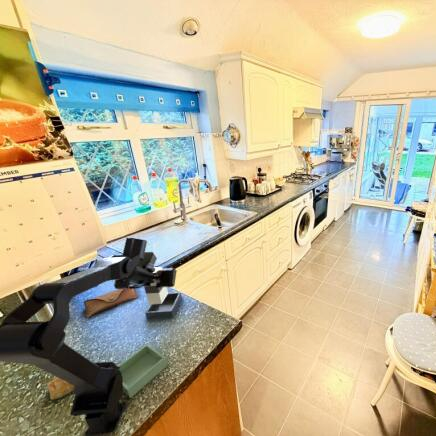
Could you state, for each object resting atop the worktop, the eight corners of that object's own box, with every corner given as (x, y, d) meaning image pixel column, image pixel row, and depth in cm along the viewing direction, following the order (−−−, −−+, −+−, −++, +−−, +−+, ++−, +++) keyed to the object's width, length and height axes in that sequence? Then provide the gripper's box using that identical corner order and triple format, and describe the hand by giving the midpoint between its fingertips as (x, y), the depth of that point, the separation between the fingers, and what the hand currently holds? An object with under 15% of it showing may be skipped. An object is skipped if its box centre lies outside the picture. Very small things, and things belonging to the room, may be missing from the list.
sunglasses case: (86, 318, 90) (81, 302, 91) (88, 317, 96) (82, 301, 96) (139, 297, 102) (135, 282, 102) (138, 297, 107) (133, 283, 108)
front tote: (130, 398, 65) (127, 390, 63) (112, 380, 69) (108, 372, 68) (167, 365, 74) (165, 357, 72) (149, 351, 78) (147, 343, 77)
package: (161, 304, 86) (155, 276, 82) (148, 304, 86) (141, 276, 81) (168, 293, 92) (162, 266, 87) (156, 293, 91) (149, 267, 87)
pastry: (88, 364, 74) (84, 355, 72) (95, 377, 70) (92, 368, 69) (47, 389, 67) (42, 380, 65) (53, 405, 63) (48, 396, 62)
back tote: (173, 318, 92) (171, 311, 91) (146, 320, 91) (145, 312, 89) (182, 298, 102) (180, 292, 101) (158, 300, 101) (157, 293, 100)
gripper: (169, 248, 78) (185, 260, 92) (110, 250, 76) (136, 262, 90) (163, 283, 73) (181, 289, 87) (100, 285, 71) (129, 292, 86)
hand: (157, 282), depth 88 cm, fingers closed on package, 4 cm apart
